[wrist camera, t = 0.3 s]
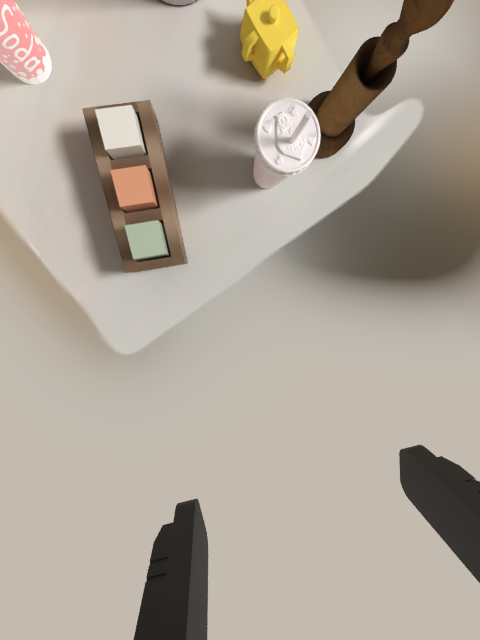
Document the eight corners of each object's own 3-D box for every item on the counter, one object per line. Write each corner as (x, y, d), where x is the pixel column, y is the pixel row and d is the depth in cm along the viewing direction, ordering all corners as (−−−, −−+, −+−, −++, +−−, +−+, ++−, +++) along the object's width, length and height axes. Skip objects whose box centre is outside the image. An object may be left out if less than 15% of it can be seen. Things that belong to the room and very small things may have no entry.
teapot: (219, 38, 30) (221, -9, 25) (258, 5, 29) (267, -49, 24) (259, 102, 31) (269, 71, 26) (296, 72, 31) (312, 34, 26)
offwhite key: (107, 126, 28) (94, 109, 25) (139, 122, 28) (131, 104, 25) (116, 162, 29) (105, 149, 26) (147, 157, 29) (140, 144, 26)
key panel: (99, 129, 30) (82, 108, 26) (157, 121, 30) (149, 100, 27) (135, 272, 34) (125, 272, 30) (187, 263, 34) (184, 262, 30)
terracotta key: (120, 180, 29) (110, 170, 26) (152, 175, 29) (145, 165, 26) (128, 213, 30) (119, 206, 27) (159, 208, 30) (153, 201, 27)
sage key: (133, 229, 30) (124, 225, 27) (163, 224, 30) (157, 220, 27) (140, 260, 31) (133, 259, 28) (170, 255, 31) (165, 253, 28)
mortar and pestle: (317, 170, 34) (432, 62, 16) (287, 127, 32) (377, -43, 15) (355, 135, 33) (515, -15, 16) (326, 90, 32) (467, -130, 14)
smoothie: (258, 209, 34) (289, 168, 20) (233, 162, 32) (249, 85, 19) (298, 184, 34) (358, 126, 20) (276, 136, 32) (323, 39, 19)
